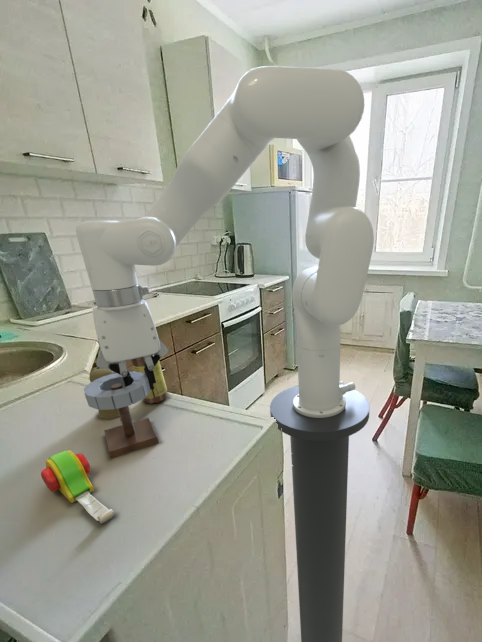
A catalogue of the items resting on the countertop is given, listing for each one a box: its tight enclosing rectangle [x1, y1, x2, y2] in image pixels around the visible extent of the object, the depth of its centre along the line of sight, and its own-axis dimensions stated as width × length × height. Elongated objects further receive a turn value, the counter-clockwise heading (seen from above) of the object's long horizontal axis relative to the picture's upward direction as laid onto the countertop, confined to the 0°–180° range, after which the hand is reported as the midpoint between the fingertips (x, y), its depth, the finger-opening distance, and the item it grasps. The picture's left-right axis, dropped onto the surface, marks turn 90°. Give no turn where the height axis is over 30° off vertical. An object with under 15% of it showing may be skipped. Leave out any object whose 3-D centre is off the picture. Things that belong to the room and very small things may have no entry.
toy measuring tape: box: [40, 449, 116, 525], centre depth 57 cm, size 6×20×7 cm, turn 51°
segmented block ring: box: [83, 370, 151, 411], centre depth 68 cm, size 11×11×3 cm
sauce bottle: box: [130, 355, 169, 404], centre depth 85 cm, size 7×6×20 cm
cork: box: [88, 367, 120, 420], centre depth 82 cm, size 6×6×11 cm
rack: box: [104, 383, 159, 459], centre depth 70 cm, size 9×9×12 cm
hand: (141, 388), depth 70 cm, fingers closed on segmented block ring, 2 cm apart
